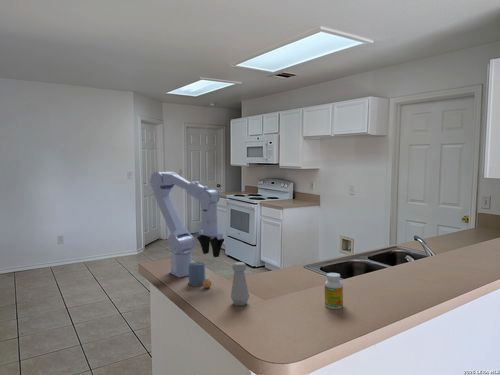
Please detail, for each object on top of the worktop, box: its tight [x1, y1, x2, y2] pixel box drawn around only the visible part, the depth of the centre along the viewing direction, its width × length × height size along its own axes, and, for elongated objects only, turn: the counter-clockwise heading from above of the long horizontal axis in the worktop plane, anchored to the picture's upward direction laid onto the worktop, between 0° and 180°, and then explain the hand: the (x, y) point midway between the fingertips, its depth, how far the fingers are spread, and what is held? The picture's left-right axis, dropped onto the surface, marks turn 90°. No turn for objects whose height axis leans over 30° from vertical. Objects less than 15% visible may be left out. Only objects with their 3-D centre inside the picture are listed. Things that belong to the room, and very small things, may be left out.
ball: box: [202, 278, 212, 289], centre depth 127 cm, size 3×3×3 cm
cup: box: [188, 261, 207, 285], centre depth 132 cm, size 6×6×7 cm
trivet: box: [187, 281, 204, 287], centre depth 133 cm, size 7×7×1 cm
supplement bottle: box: [324, 272, 344, 310], centre depth 107 cm, size 5×5×10 cm
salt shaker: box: [230, 261, 250, 307], centre depth 111 cm, size 6×6×13 cm
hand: (211, 255), depth 137 cm, fingers open, 7 cm apart
